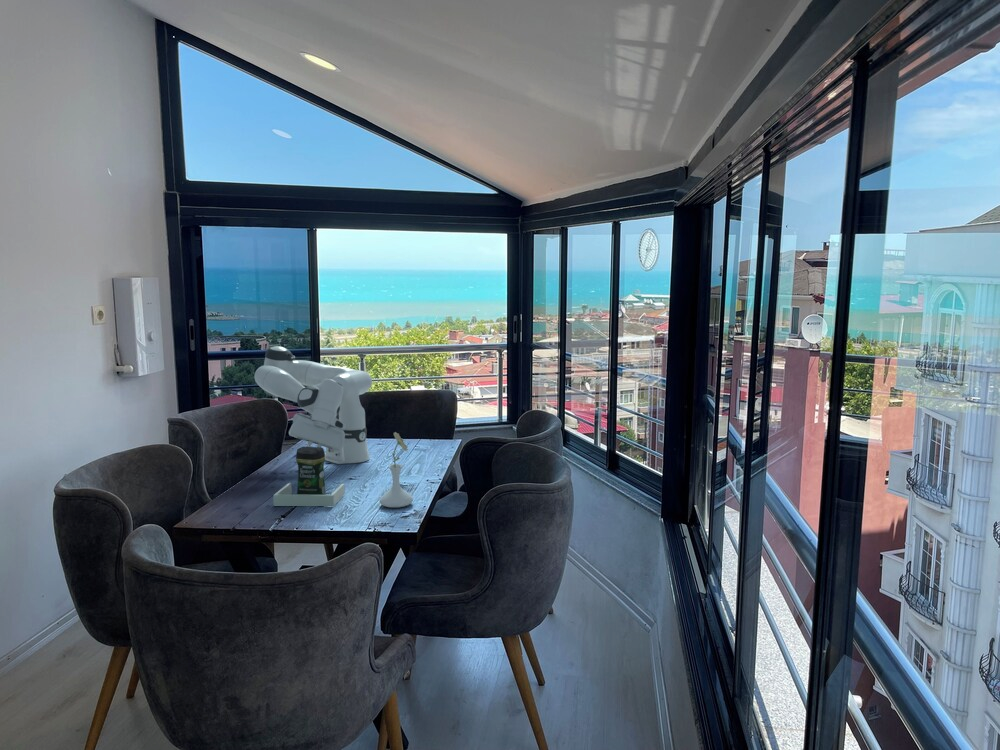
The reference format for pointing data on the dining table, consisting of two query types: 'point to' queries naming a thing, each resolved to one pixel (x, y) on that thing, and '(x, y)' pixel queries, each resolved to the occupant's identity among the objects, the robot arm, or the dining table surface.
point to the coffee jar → (311, 471)
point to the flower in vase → (396, 483)
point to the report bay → (306, 498)
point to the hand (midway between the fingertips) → (311, 454)
